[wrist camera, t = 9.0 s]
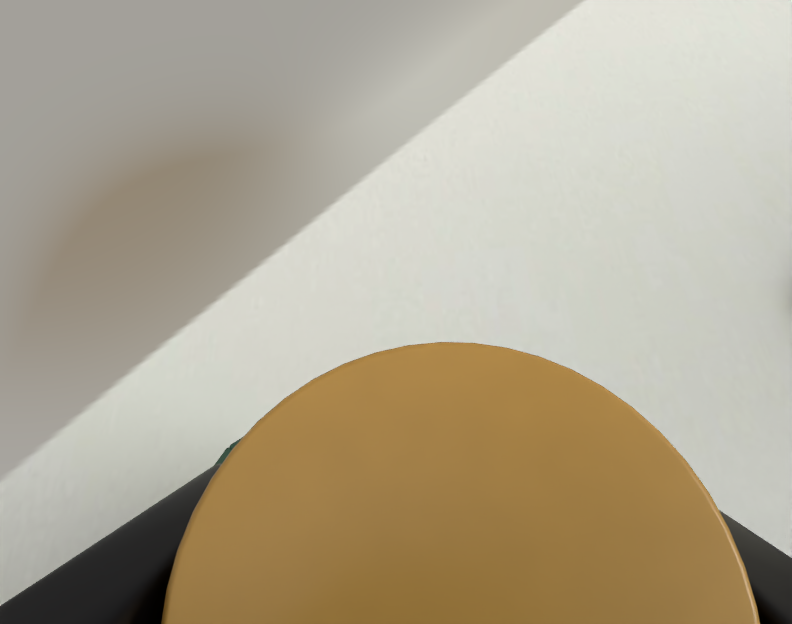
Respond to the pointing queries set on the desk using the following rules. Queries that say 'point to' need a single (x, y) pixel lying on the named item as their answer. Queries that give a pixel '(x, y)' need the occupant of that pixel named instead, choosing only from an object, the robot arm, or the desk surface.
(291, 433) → the lid
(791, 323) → the desk surface
